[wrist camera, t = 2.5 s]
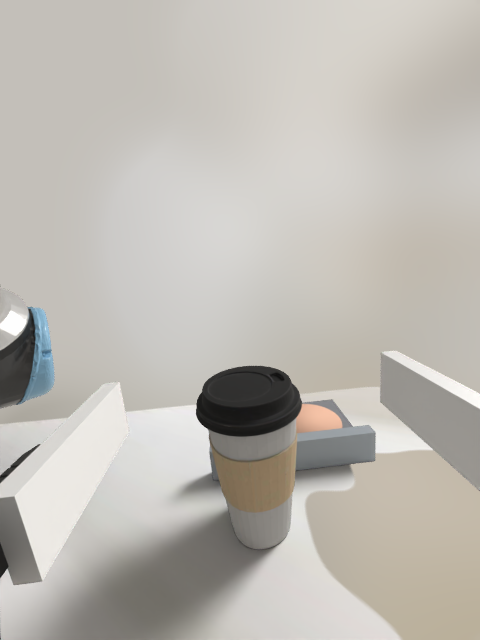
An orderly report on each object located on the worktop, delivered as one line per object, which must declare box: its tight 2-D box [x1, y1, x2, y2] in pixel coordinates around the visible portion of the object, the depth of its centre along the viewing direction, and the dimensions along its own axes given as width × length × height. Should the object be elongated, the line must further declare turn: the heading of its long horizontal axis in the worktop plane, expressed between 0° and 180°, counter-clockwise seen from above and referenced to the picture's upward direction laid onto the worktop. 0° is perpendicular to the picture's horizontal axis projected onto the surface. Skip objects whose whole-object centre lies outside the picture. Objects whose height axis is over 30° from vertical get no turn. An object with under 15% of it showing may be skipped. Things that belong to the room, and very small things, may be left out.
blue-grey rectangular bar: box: [209, 425, 375, 480], centre depth 33 cm, size 20×2×4 cm, turn 93°
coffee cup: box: [196, 366, 302, 549], centre depth 25 cm, size 9×9×15 cm
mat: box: [296, 400, 353, 433], centre depth 41 cm, size 12×11×1 cm
